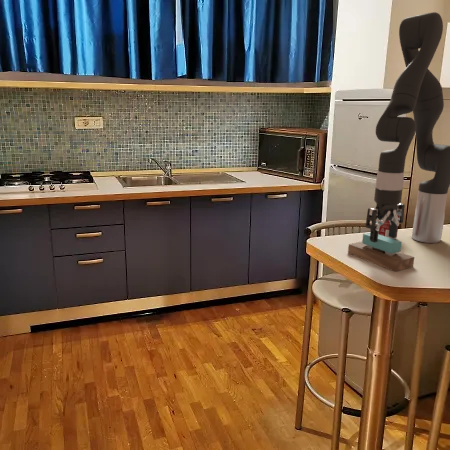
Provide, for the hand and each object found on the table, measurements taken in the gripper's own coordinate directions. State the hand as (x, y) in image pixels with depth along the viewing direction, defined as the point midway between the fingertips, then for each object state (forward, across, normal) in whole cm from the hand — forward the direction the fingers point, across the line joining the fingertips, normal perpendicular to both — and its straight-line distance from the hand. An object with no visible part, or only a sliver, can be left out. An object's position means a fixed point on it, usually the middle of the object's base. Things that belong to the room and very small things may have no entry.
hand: (382, 239), depth 136 cm
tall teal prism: (+6, 0, 0) cm, 7 cm away
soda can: (+7, -21, -14) cm, 26 cm away
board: (+6, 0, 0) cm, 7 cm away
